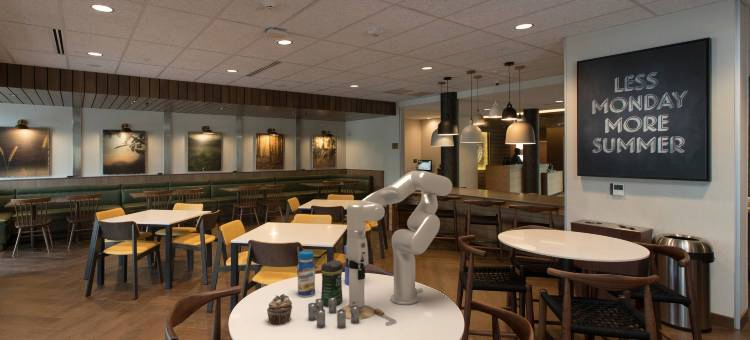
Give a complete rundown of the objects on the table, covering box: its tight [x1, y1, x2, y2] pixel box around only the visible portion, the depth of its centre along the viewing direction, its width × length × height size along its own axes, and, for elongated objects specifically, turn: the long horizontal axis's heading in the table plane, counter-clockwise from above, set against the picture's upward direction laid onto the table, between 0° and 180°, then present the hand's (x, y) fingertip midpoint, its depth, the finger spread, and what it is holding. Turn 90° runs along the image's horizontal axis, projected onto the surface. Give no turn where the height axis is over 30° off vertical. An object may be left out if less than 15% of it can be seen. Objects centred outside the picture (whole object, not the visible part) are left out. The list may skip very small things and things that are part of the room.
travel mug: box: [348, 260, 365, 309], centre depth 164 cm, size 6×7×20 cm
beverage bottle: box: [296, 250, 316, 298], centre depth 186 cm, size 8×8×20 cm
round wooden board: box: [339, 304, 375, 320], centre depth 165 cm, size 15×15×1 cm
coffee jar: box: [320, 259, 343, 307], centre depth 175 cm, size 10×8×19 cm
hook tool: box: [373, 308, 397, 326], centre depth 158 cm, size 13×5×2 cm, turn 36°
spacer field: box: [307, 297, 360, 330], centre depth 157 cm, size 16×19×6 cm
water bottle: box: [343, 244, 349, 287], centre depth 203 cm, size 9×9×25 cm
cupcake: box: [266, 293, 293, 326], centre depth 156 cm, size 10×10×10 cm
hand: (356, 276), depth 164 cm, fingers closed on travel mug, 6 cm apart
